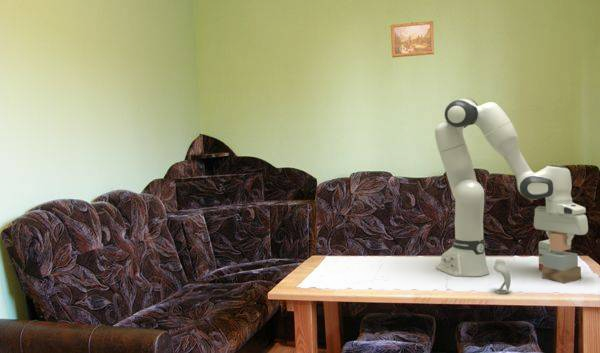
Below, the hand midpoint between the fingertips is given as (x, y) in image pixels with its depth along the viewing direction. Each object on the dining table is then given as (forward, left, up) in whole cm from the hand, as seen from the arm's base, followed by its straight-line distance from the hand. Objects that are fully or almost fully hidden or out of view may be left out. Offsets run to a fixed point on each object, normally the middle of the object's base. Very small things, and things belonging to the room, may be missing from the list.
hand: (560, 243), depth 184 cm
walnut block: (0, 0, -14) cm, 14 cm away
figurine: (-1, -30, -14) cm, 33 cm away
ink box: (-11, +9, -14) cm, 20 cm away
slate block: (0, 0, -9) cm, 9 cm away
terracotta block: (0, 0, -2) cm, 2 cm away
